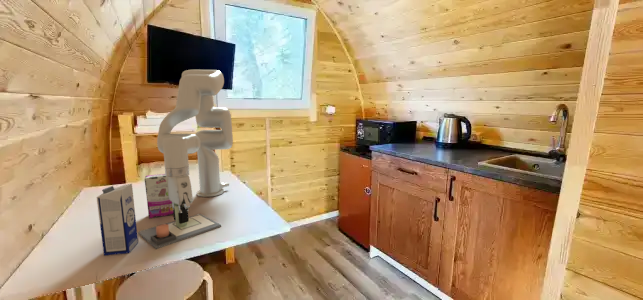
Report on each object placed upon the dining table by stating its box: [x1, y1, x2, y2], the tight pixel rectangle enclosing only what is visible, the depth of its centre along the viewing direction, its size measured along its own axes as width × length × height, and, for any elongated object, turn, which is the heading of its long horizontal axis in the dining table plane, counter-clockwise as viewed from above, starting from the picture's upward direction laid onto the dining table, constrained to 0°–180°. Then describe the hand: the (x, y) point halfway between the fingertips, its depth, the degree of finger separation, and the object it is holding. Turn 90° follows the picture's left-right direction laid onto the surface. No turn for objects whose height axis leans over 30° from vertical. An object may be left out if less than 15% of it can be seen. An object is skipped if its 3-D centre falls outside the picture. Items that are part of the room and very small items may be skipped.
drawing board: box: [137, 213, 222, 250], centre depth 103 cm, size 22×16×2 cm
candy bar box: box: [144, 173, 175, 219], centre depth 116 cm, size 11×5×16 cm, turn 117°
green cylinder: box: [174, 202, 187, 227], centre depth 104 cm, size 4×4×10 cm
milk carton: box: [96, 183, 139, 256], centre depth 88 cm, size 7×7×20 cm
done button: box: [155, 223, 169, 238], centre depth 94 cm, size 4×4×3 cm
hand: (181, 220), depth 105 cm, fingers closed on green cylinder, 3 cm apart
